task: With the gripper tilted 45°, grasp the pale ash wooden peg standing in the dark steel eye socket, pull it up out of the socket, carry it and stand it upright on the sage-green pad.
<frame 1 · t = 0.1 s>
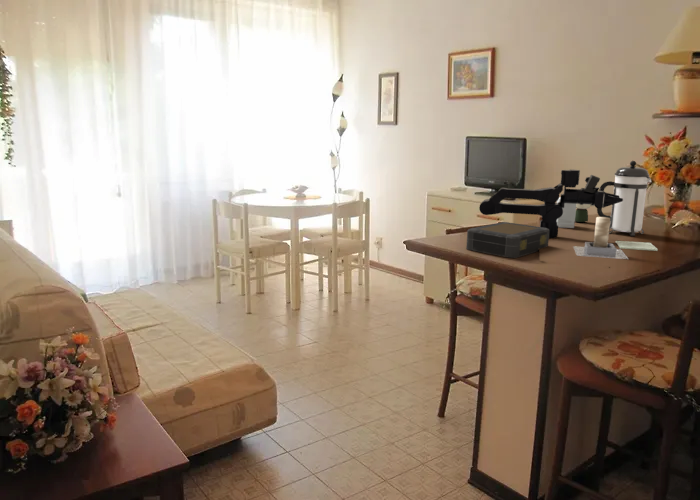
hand: (620, 198, 222), 17 cm above the countertop, tool horizontal, fingers open, 9 cm apart
ash peg: (599, 252, 200), point 1 cm above the countertop, touching eye block
cash box: (506, 250, 208), on the countertop
eye block: (599, 255, 200), on the countertop
coffee press: (621, 233, 242), on the countertop
character mug: (580, 222, 268), on the countertop
green pad: (635, 248, 211), on the countertop
supplement box: (564, 226, 256), on the countertop
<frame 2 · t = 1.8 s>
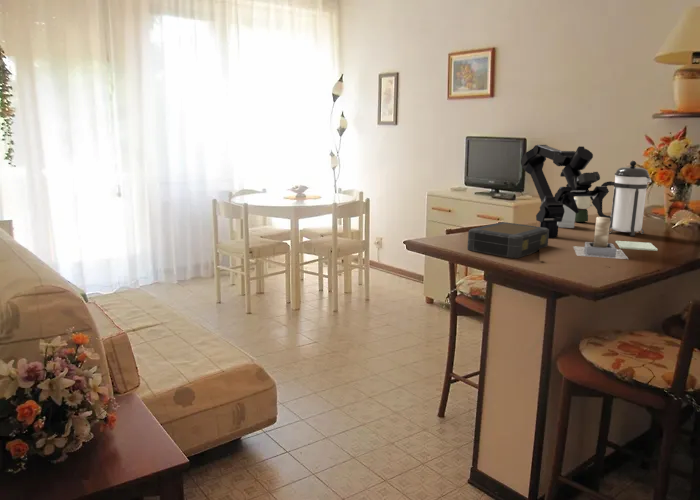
hand: (589, 212, 205), 14 cm above the countertop, tool tilted 45°, fingers open, 9 cm apart
nothing on the countertop moved.
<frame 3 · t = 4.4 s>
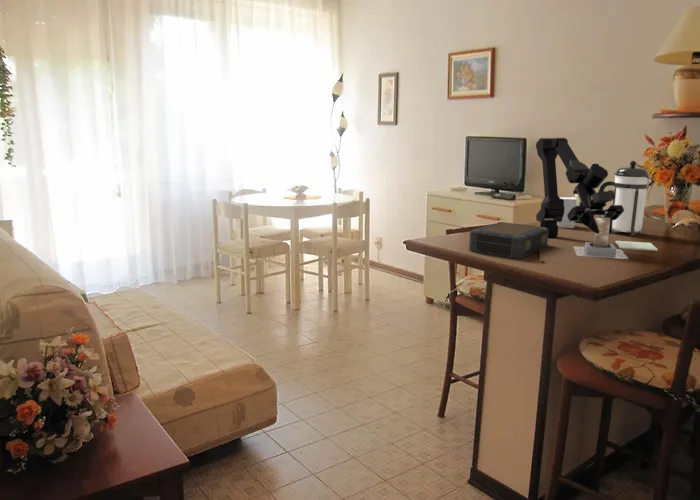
hand: (604, 232, 197), 8 cm above the countertop, tool tilted 45°, fingers closed on ash peg, 4 cm apart
ash peg: (599, 252, 200), point 1 cm above the countertop, touching eye block, gripper
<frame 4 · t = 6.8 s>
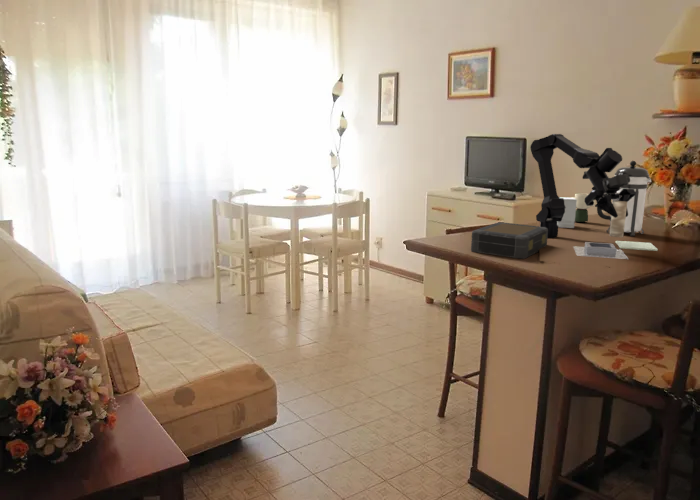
hand: (621, 216, 198), 13 cm above the countertop, tool tilted 45°, fingers closed on ash peg, 4 cm apart
ash peg: (616, 236, 201), point 6 cm above the countertop, touching gripper
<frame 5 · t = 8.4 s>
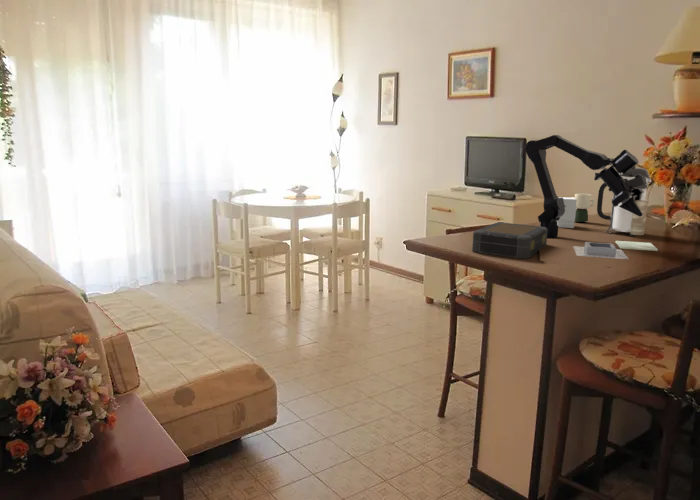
hand: (643, 215, 207), 13 cm above the countertop, tool tilted 45°, fingers closed on ash peg, 4 cm apart
ash peg: (637, 233, 210), point 6 cm above the countertop, touching gripper
when the fingers open (10 cm above the countertop, at t = 9.2 s): ash peg drops 1 cm, resting on green pad.
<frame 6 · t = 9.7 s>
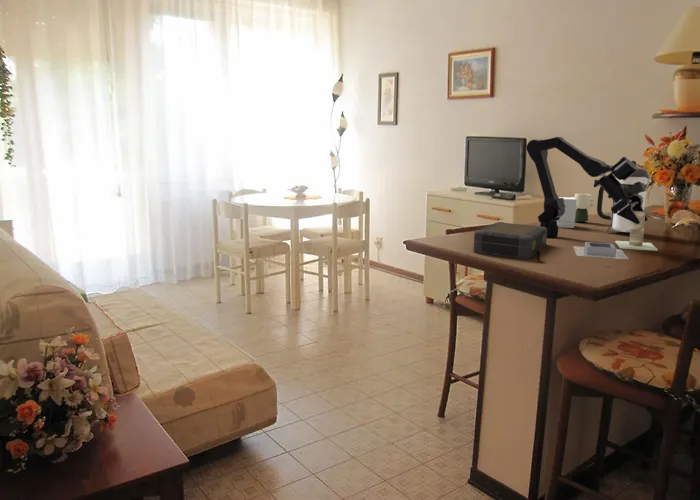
hand: (642, 222, 208), 10 cm above the countertop, tool tilted 45°, fingers open, 9 cm apart
ash peg: (635, 244, 211), point 2 cm above the countertop, touching green pad
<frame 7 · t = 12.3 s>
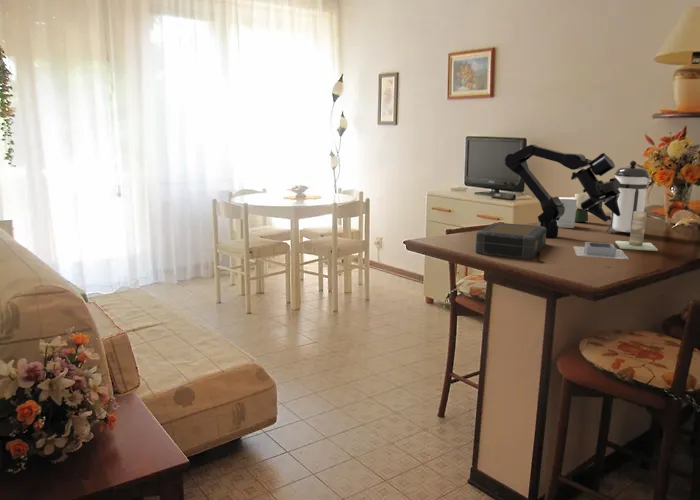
hand: (613, 218, 215), 10 cm above the countertop, tool tilted 40°, fingers open, 9 cm apart
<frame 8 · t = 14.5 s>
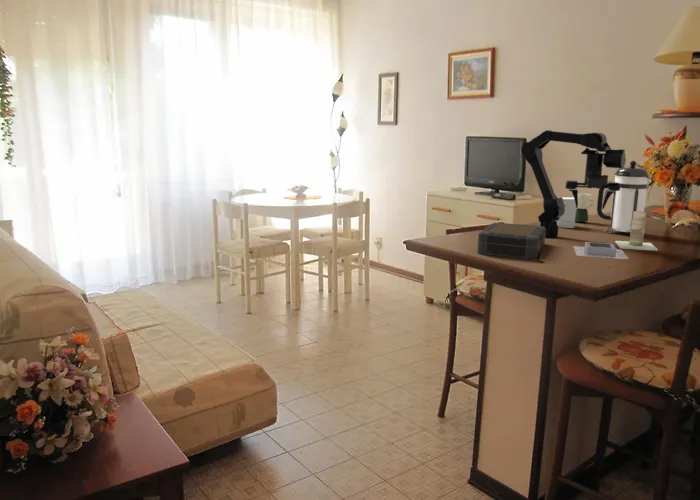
hand: (589, 208, 220), 13 cm above the countertop, tool pointing down, fingers open, 9 cm apart
at the end: ash peg inside the target area on the green pad (0.0 cm from its centre), point 1.5 cm above the green pad's base; ash peg tilted 1°; the gripper is holding nothing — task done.
